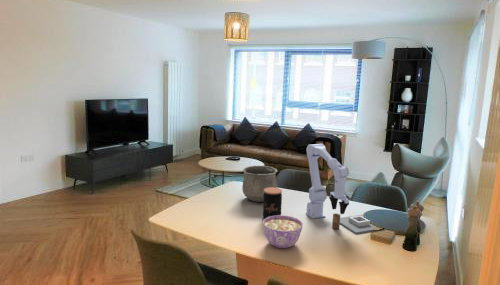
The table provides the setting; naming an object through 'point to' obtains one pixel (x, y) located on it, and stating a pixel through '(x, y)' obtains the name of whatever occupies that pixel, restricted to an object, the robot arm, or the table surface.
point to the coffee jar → (272, 202)
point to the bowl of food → (282, 230)
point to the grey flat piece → (357, 224)
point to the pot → (258, 181)
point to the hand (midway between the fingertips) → (338, 211)
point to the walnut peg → (336, 221)
